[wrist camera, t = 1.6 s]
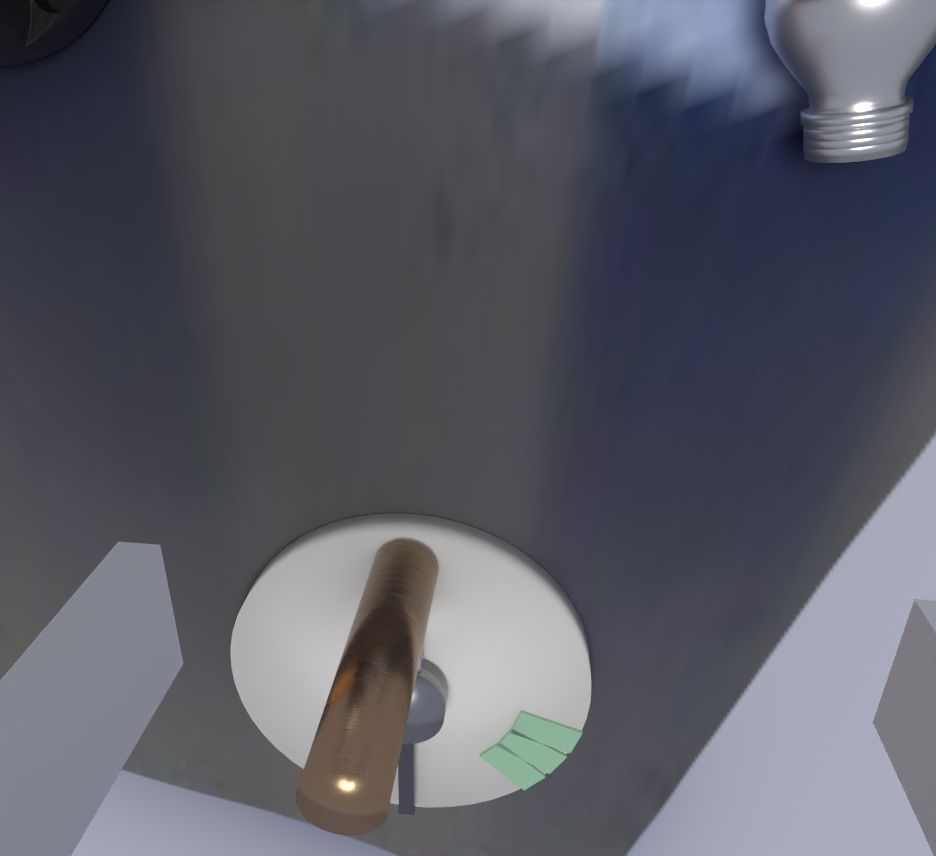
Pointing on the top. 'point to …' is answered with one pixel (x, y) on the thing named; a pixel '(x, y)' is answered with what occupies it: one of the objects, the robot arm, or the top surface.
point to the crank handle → (377, 700)
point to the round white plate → (424, 652)
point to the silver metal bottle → (853, 70)
